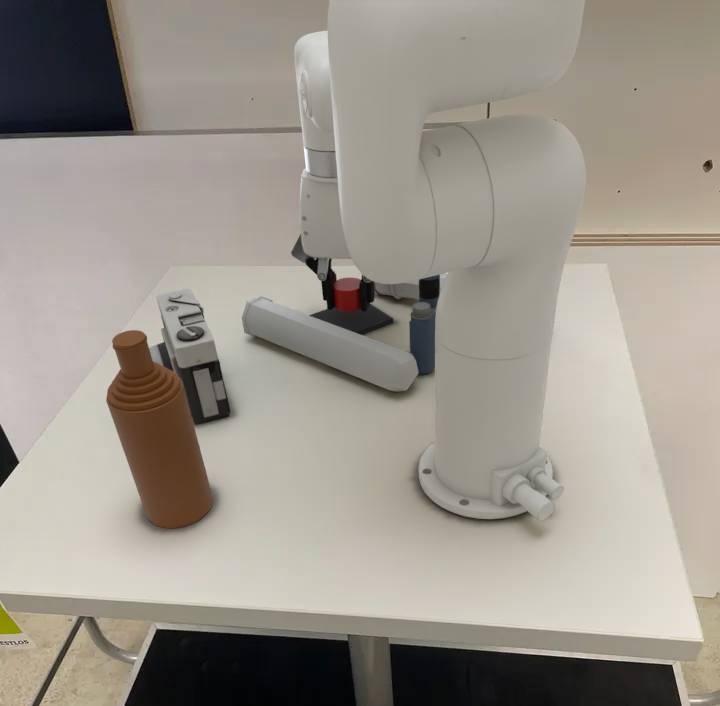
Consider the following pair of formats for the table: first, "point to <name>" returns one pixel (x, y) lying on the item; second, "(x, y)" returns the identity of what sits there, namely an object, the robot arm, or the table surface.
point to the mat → (355, 319)
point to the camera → (191, 355)
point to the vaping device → (424, 324)
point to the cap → (347, 294)
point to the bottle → (157, 435)
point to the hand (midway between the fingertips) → (349, 304)
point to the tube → (330, 344)
